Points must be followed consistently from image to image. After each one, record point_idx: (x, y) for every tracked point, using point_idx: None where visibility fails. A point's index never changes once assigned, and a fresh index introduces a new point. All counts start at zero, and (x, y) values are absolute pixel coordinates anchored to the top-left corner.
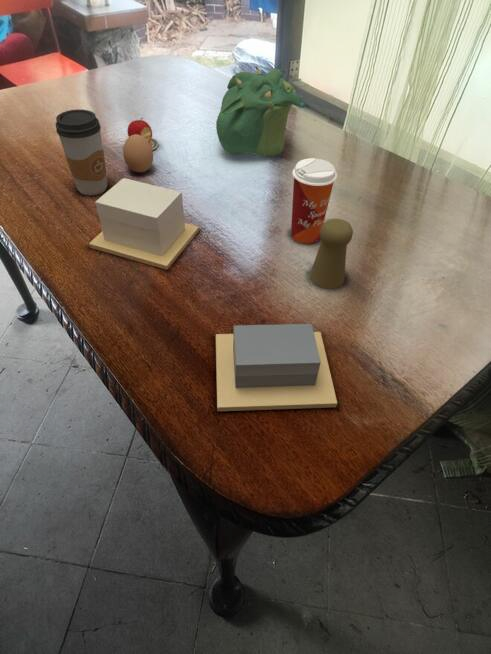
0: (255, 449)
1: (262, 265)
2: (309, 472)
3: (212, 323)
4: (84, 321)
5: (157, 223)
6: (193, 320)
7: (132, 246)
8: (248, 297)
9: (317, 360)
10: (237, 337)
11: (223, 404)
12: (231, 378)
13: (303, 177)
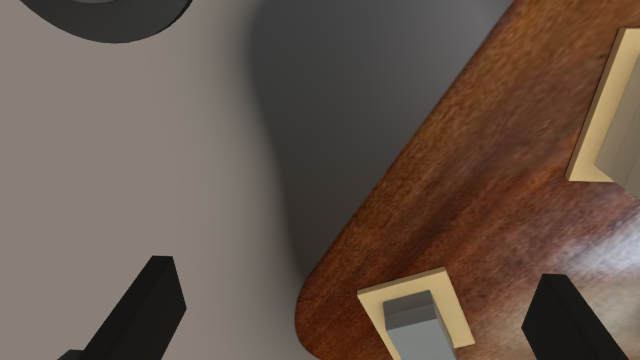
0: (334, 319)
1: (589, 275)
2: (332, 348)
3: (466, 256)
4: (430, 125)
5: (637, 198)
6: (466, 238)
7: (617, 114)
8: (520, 276)
9: None
10: (421, 325)
11: (362, 298)
12: (392, 296)
13: None
